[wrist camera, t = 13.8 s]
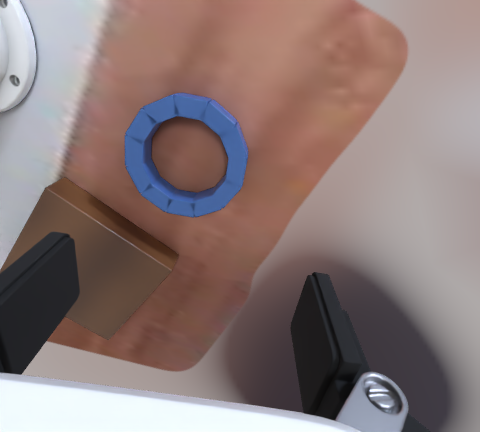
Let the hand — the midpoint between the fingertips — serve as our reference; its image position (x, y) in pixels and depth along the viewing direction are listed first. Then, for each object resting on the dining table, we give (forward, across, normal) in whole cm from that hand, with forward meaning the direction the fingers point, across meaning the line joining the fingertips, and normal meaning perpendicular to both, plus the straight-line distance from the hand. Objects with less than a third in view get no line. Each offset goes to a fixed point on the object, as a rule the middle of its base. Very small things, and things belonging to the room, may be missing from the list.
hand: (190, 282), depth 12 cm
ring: (+18, +3, 0) cm, 18 cm away
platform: (+18, +13, +14) cm, 26 cm away
